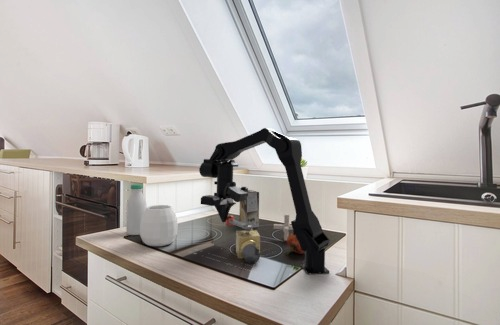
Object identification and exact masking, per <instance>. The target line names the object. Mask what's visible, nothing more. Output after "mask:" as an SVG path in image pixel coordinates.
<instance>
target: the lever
mask: <svg viewBox="0 0 500 325" xmlns="http://www.w3.org/2000/svg"><path fill="white" fill-rule="evenodd" d="M224 223H225V224H224V225H225V226H227V227H232V226H237V227H239V228H242V229H243V230H242V231H245V230H253V229H254V228H253V225H249V224H245V223H242V222H240V220H237V219H235V216H234V215H231V214H230V215H229V214H228V216H227V219H226V222H224Z"/></svg>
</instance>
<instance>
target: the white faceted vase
mask: <svg viewBox="0 0 500 325" xmlns="http://www.w3.org/2000/svg"><path fill="white" fill-rule="evenodd" d="M178 229H179V226H178V217H177V214H176V212H175V210H174V208H173V206H171V205H169V204H158V205H157V204H156V205H155V204H154V205H150V206H147V208H146V210H145V212H144V213H143V216H142V218H141V223H140V235H139V236H140V238H141V240H142V243H144V244H145V245H147V246H149V247H163V246H168V245H170V244H171V243H173V242H174V240H175V239H176V237H177V234H178Z"/></svg>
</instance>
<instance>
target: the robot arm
mask: <svg viewBox="0 0 500 325" xmlns="http://www.w3.org/2000/svg"><path fill="white" fill-rule="evenodd" d="M265 143H266V144H267V145H268V146H269V147H271V148H272V149H274V151H275V152H276V155H277V157H278V159H279V161H280V162H281V164H282V165H283V166H284V169H285V172H286V176H287V180H288V185H289V189H290V194H291V197H292V202H293V206H294V210H295V218H294V219H293V220H292V221H291V222H290V225H292V227H293V232H292V233H293V235H295V236H296V239H297V240H298V241H299V243H300V247H301V250H302V251H305V252H304V263H300V267H301V268H302V269H303V270H304V271H305V273H306V274H308V275H312V274H313V275H315V274H330V270H329V269H328V268H327V267H326V266H325V265H326V260H325V259H326V247H328V246H329V244H330V242H331V239H330V238H329V237H328V236H327V235H326V234H325V232H324V231H323V228H322V225H321V223H320V220H319V219H318V216H316V214H315V213H314V211H313V210H312V206H311V202H310V198H309V193H308V190H307V185H306V181H305V176H304V174H303V169H302V158H303V152H302V143H301V141H300V140H299V139H297V138H295V137H289V136H286V135H284V134H282V133H279V132H277V131H276V130H275V129H273V128H266V127H264V128H261V129H260V130H259V131H256V132H253V133H251V134H249V135H247V136H244V137H242V138H239V139H237V140H235V141H226V142H221V143H217V144H216V146H215V148H214V150H213V152H212V154H211V155H210V157H209V158H204V159H203V162H202V163H201V164H200V165H199V168H198V170H199V171H198V172H199V174H200V175H201V177H203V178H210V179H211V178H214V179H216V181H214V185H216V192H214V193H213V194H214V195H210V194H208V195H207V194H206V195H202V196H201V197H200V205H203V206H204V205H205V206H210V207H215V209H216V212H217V213H218V216H219V217H220V220H221V222H222V223H225V222H226V219H227V216H228V215H229V213H230V210H231V209H232V207H234V205H237V203H240V201H244V200H246V197H247V196H248V190H249V187H247V186H241V187H238V186H237V182H235V181H234V167H235V168H236V167H237V168H238V167H239V164H238V163H237V162H236V161H235V159H236V158H237V157H240V155H241V153H243V152H245V151H247V150H250V149H252V148H255V147H258V146H260V145H263V144H265Z"/></svg>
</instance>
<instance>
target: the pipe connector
mask: <svg viewBox="0 0 500 325" xmlns="http://www.w3.org/2000/svg"><path fill="white" fill-rule="evenodd" d="M283 220H284V221H283V222H284V224H278V223H274V224H273V229H276V230H283V241H284V242H285V241H286V242H287V238H288V236H289V235H290V234H289V233H290V231H292V230H293V227H292V225H291V222H290V214H288V213H285V214H284V219H283Z"/></svg>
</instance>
